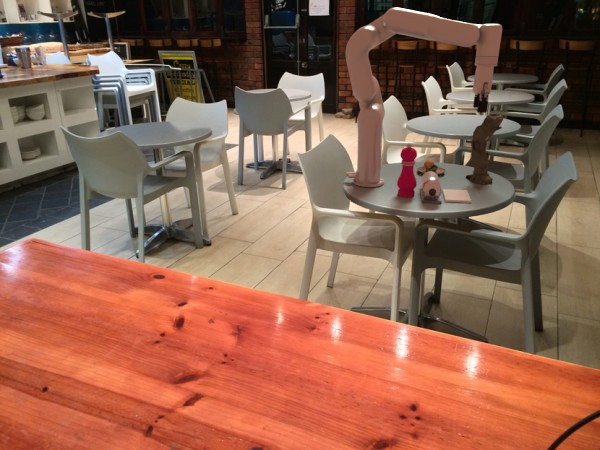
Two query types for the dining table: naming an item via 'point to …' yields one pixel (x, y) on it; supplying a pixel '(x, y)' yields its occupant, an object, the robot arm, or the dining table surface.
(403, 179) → the pepper mill
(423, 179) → the motor housing
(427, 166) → the brown orange lobed cluster
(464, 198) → the far mat
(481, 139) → the brown tall irregular piece
